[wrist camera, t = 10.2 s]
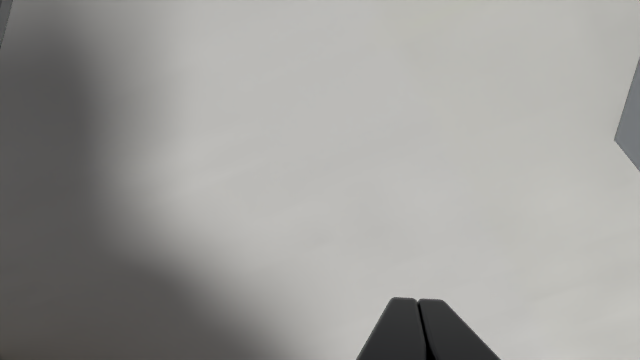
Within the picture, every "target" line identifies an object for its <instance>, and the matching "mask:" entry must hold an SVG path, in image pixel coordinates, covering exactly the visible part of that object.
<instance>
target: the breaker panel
mask: <svg viewBox="0 0 640 360" xmlns="http://www.w3.org/2000/svg"><path fill="white" fill-rule="evenodd" d="M614 140H615V142H616V143H617V144H618V145H619V146H620V148H621V149H622V150H623V151H624V153H625V154H626V155H627V156H628V158H629V159H630V160H631V161H632V163H633V164H634V165H635V166H636V168H637V169H638V170H639V171H640V59H639V62H638V65H637V68H636V72H635V75H634V78H633V81H632V84H631V88H630V91H629V94H628V97H627V100H626V104H625V107H624V110H623V113H622V117H621V120H620V123H619V126H618V129H617V133H616V136H615V139H614Z"/></svg>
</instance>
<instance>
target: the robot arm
mask: <svg viewBox="0 0 640 360" xmlns="http://www.w3.org/2000/svg"><path fill="white" fill-rule="evenodd" d="M12 2H13V0H0V48H1V44H2V40H3V36H4V33H5V29H6V25H7V21H8V17H9V14H10V10H11V6H12ZM356 360H501V359H500V358H499V357H498V356H497V355H496V354H495V353H494V352H493V351H492V350H491V349H490V348H489V347H488V346H487V345H486V344H485V343H484V342H483V341H482V340H481V339H480V338H479V337H478V336H477V335H476V334H475V332H474V331H473V330H472V329H471V328H470V327H469V326H468V325H467V324H466V323H465V322H464V321H463V320H462V319H461V318H460V317H459V316H458V315H457V314H456V313H455V312H454V311H453V310H452V309H451V308H450V307H449V305H448V304H447V303H446V302H444V301H443V300H438V299H420V300H419V301H418V302H417V301H416V300H415V299H414V298H399V297H394V298H392V299H391V300H390V301H389V303H388V305H387V306H386V308H385V310H384V312H383V313H382V315H381V317H380V319H379V320H378V322H377V324H376V326H375V327H374V329H373V331H372V333H371V334H370V336H369V338H368V340H367V341H366V343H365V345H364V347H363V348H362V350H361V352H360V354H359V355H358V357H357V359H356Z"/></svg>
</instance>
